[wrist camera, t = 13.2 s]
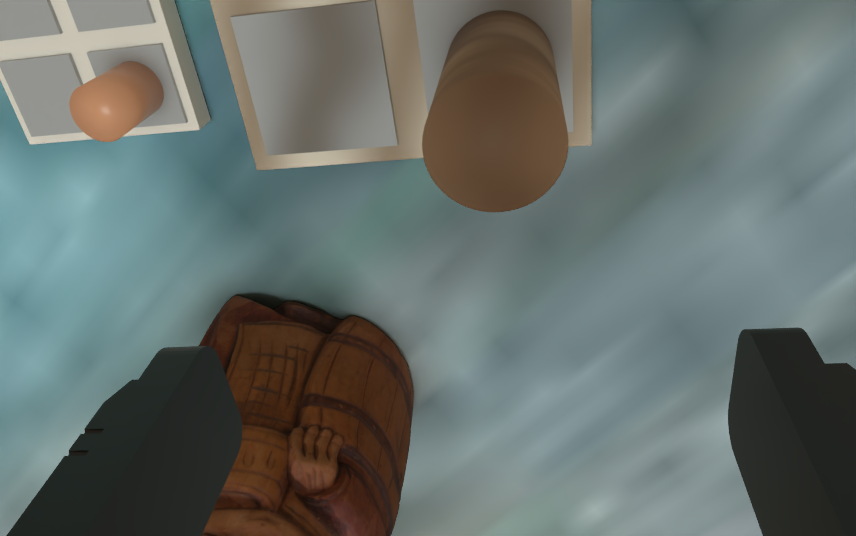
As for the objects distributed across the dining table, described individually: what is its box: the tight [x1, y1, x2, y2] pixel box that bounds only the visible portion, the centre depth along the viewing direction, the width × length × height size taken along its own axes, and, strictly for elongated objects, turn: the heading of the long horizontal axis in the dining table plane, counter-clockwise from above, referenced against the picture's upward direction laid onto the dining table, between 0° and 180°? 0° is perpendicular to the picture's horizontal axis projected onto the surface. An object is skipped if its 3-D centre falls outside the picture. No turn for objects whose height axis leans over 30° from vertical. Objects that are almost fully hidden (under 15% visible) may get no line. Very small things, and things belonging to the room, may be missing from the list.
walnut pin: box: [422, 10, 569, 212], centre depth 22 cm, size 4×4×8 cm
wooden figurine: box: [199, 296, 413, 536], centre depth 28 cm, size 12×6×18 cm, turn 75°
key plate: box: [0, 0, 211, 144], centre depth 26 cm, size 8×8×4 cm
